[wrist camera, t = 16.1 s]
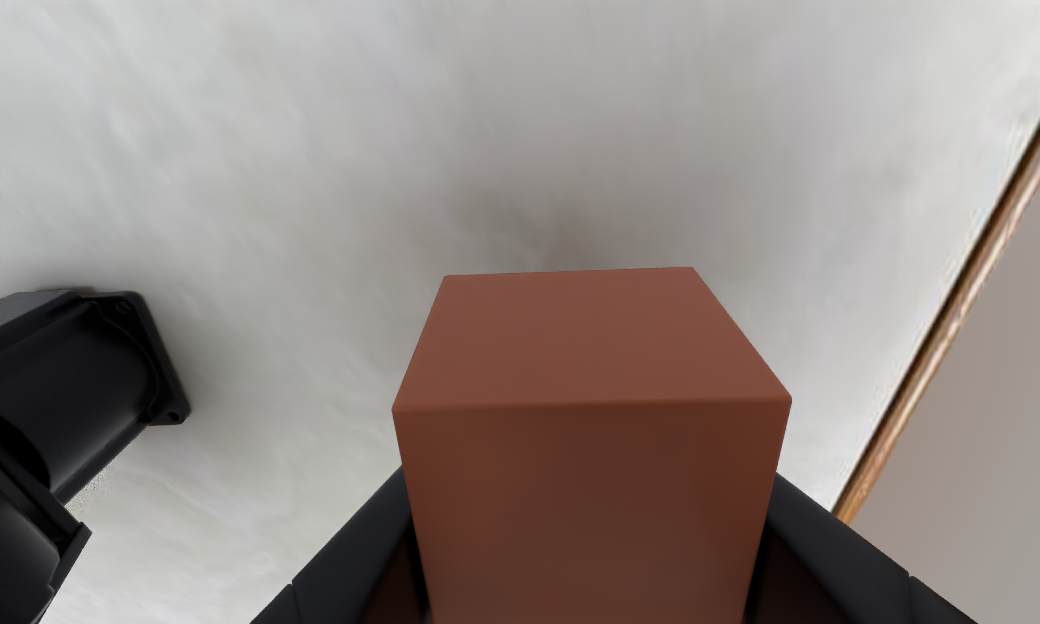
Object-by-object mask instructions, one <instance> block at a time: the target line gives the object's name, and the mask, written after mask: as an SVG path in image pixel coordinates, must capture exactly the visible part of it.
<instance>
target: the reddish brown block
mask: <svg viewBox="0 0 1040 624" xmlns="http://www.w3.org/2000/svg"><path fill="white" fill-rule="evenodd" d="M791 403H792V398H791V395H790V394H789V392H788V391H787V390H786V389H785V387H784V386H783V385H782V383H781V382H780V381H779V379H778V378H777V377H776V375H775V374H774V373H773V372H772V370H771V369H770V368H769V366H768V365H767V364H766V362H765V361H764V360H763V359H762V357H761V356H760V355H759V353H758V352H757V351H756V349H755V348H754V347H753V345H752V344H751V343H750V342H749V340H748V339H747V338H746V336H745V335H744V334H743V332H742V331H741V330H740V328H739V327H738V326H737V325H736V323H735V322H734V321H733V319H732V318H731V317H730V315H729V314H728V313H727V311H726V310H725V309H724V308H723V306H722V305H721V304H720V302H719V301H718V300H717V298H716V297H715V296H714V294H713V293H712V292H711V291H710V289H709V288H708V287H707V285H706V284H705V283H704V281H703V280H702V279H701V277H700V276H699V275H698V274H697V272H696V271H695V270H694V268H693V267H669V268H642V269H615V270H587V271H560V272H532V273H505V274H478V275H450V276H445V277H444V278H443V281H442V283H441V286H440V288H439V291H438V293H437V296H436V298H435V301H434V303H433V306H432V308H431V311H430V313H429V316H428V318H427V321H426V323H425V326H424V328H423V331H422V333H421V336H420V338H419V341H418V344H417V346H416V349H415V351H414V354H413V356H412V359H411V361H410V364H409V366H408V369H407V371H406V374H405V376H404V379H403V381H402V384H401V386H400V389H399V391H398V394H397V396H396V399H395V401H394V404H393V406H392V415H393V420H394V425H395V430H396V435H397V440H398V446H399V451H400V456H401V461H402V466H403V471H404V476H405V482H406V487H407V492H408V497H409V502H410V507H411V512H412V518H413V523H414V528H415V533H416V538H417V543H418V549H419V554H420V559H421V564H422V569H423V574H424V579H425V585H426V590H427V595H428V600H429V605H430V610H431V615H432V621H433V624H742V620H743V615H744V611H745V606H746V602H747V598H748V593H749V589H750V584H751V580H752V575H753V571H754V567H755V562H756V558H757V553H758V549H759V545H760V540H761V536H762V531H763V527H764V523H765V518H766V514H767V509H768V505H769V500H770V496H771V492H772V487H773V483H774V478H775V474H776V470H777V465H778V461H779V456H780V452H781V448H782V443H783V439H784V434H785V430H786V425H787V421H788V417H789V412H790V408H791Z"/></svg>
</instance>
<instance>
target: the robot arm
mask: <svg viewBox="0 0 1040 624" xmlns="http://www.w3.org/2000/svg"><path fill="white" fill-rule="evenodd" d="M125 302H126V303H127V304H128V305H129V306H130V308H129V307H128V306H126V304H125ZM175 412H176V413H177V414H176V413H175ZM189 415H190V410H189V408H188V405H187V403H186V401H185V399H184V396H183V394H182V392H181V390H180V387H179V385H178V383H177V380H176V378H175V376H174V374H173V371H172V369H171V367H170V364H169V362H168V360H167V358H166V355H165V353H164V351H163V348H162V346H161V344H160V342H159V339H158V337H157V335H156V332H155V330H154V328H153V326H152V323H151V321H150V319H149V316H148V314H147V312H146V310H145V307H144V305H143V303H142V301H141V299H140V298H139V297H138V296H136V295H135V294H133V293H131V292H115V293H98V294H80V292H77V291H74V290H55V291H37V292H20V293H14V294H12V295H10V296H7V297H5V298H3V299H0V624H39V622H40V620H41V619H42V617H43V615H44V613H45V612H46V610H47V608H48V607H49V605H50V603H51V602H52V600H53V598H54V597H55V595H56V593H57V592H58V590H59V588H60V587H61V585H62V583H63V581H64V580H65V578H66V576H67V575H68V573H69V571H70V570H71V568H72V566H73V565H74V563H75V561H76V560H77V558H78V556H79V555H80V553H81V551H82V549H83V548H84V546H85V544H86V543H87V541H88V539H89V538H90V536H91V534H92V532H91V531H90V530H89V528H88V527H87V526H86V525H85V524H84V523H83V522H78V521H77V520H76V519H75V518H74V517H73V516H72V515H71V513H70V512H69V511H68V510H67V509H66V508H65V507H64V506H65V505H66V504H67V503H68V502H69V501H70V500H71V499H72V498H73V497H74V496H75V495H76V494H77V493H78V492H80V491H81V490H82V489H83V488H84V487H85V486H86V485H87V484H88V483H89V482H90V481H91V480H92V479H93V478H94V477H95V476H96V475H97V474H98V473H99V472H100V471H101V470H102V469H103V468H105V467H106V466H107V465H108V464H109V463H110V462H111V461H112V460H113V459H114V458H115V457H116V456H117V455H118V454H119V453H120V452H121V451H122V450H123V449H124V448H125V447H126V446H127V445H128V444H129V443H131V442H132V441H133V440H134V439H135V438H136V437H137V436H138V435H139V434H140V433H141V432H142V431H143V430H144V429H145V428H146V427H147V426H158V425H178V424H182V423H183V422H184V421H185V420H186V419H187V418H188V417H189ZM249 624H433V621H432V615H431V610H430V605H429V600H428V595H427V590H426V585H425V579H424V574H423V569H422V564H421V559H420V554H419V549H418V543H417V538H416V533H415V528H414V523H413V518H412V512H411V507H410V502H409V497H408V492H407V487H406V482H405V476H404V471H403V466H402V465H401V466H400V467H399V468H398V469H397V470H396V471H395V472H394V473H393V475H392V476H391V477H390V478H389V479H388V480H387V481H386V482H385V483H384V484H383V485H382V486H381V487H380V488H379V489H378V490H377V491H376V492H375V493H374V494H373V496H372V497H371V498H370V499H369V500H368V501H367V502H366V503H365V504H364V505H363V506H362V507H361V508H360V509H359V510H358V511H357V512H356V513H355V514H354V515H353V517H352V518H351V519H350V520H349V521H348V522H347V523H346V524H345V525H344V526H343V527H342V528H341V529H340V530H339V531H338V532H337V533H336V534H335V535H334V536H333V538H332V539H331V540H330V541H329V542H328V543H327V544H326V545H325V546H324V547H323V548H322V549H321V550H320V551H319V552H318V553H317V554H316V555H315V556H314V557H313V559H312V560H311V561H310V562H309V563H308V564H307V565H306V566H305V567H304V568H303V569H302V570H301V571H300V572H299V573H298V574H297V575H296V576H295V577H294V578H293V580H292V584H288V585H287V586H286V587H285V588H284V589H283V590H282V591H281V592H280V593H279V594H278V595H277V596H276V597H275V598H274V599H273V600H272V601H271V602H270V603H269V604H268V605H267V606H266V607H265V608H264V609H263V610H262V611H261V612H260V613H259V614H258V615H257V616H256V617H255V618H254V619H253V620H252V621H251V622H250V623H249ZM742 624H978V623H976V622H975V621H974V620H972V619H971V618H970V617H968V616H967V615H966V614H964V613H963V612H961V611H960V610H959V609H957V608H956V607H955V606H953V605H952V604H950V603H949V602H948V601H946V600H945V599H944V598H942V597H941V596H939V595H938V594H937V593H936V592H934V591H933V590H932V589H930V588H929V587H928V586H926V585H925V584H924V583H922V582H921V581H920V580H919V579H917V578H916V577H914V576H910V577H909V573H908V571H906V570H905V569H904V568H902V567H901V566H900V565H898V564H897V563H896V562H894V561H893V560H892V559H891V558H889V557H888V556H887V555H885V554H884V553H883V552H881V551H880V550H879V549H877V548H876V547H875V546H873V545H872V544H871V543H869V542H868V541H867V540H865V539H864V538H863V537H862V536H860V535H859V534H857V533H856V532H855V531H853V530H852V529H851V528H850V527H848V526H847V525H846V524H844V523H843V522H842V521H840V520H839V519H838V518H836V517H835V516H834V515H832V514H831V513H830V512H829V511H827V510H826V509H825V508H823V507H822V506H821V505H819V504H818V503H817V502H815V501H814V500H813V499H811V498H810V497H809V496H807V495H806V494H805V493H803V492H802V491H801V490H799V489H798V488H797V487H796V486H794V485H793V484H792V483H790V482H789V481H788V480H786V479H785V478H784V477H782V476H781V475H780V474H778V473H777V472H776V474H775V478H774V483H773V487H772V492H771V496H770V500H769V505H768V509H767V514H766V518H765V523H764V527H763V531H762V536H761V540H760V545H759V549H758V553H757V558H756V562H755V567H754V571H753V575H752V580H751V584H750V589H749V593H748V598H747V602H746V606H745V611H744V615H743V620H742Z"/></svg>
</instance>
